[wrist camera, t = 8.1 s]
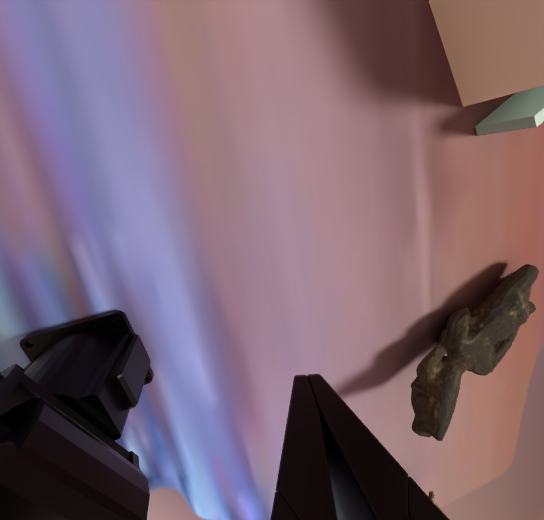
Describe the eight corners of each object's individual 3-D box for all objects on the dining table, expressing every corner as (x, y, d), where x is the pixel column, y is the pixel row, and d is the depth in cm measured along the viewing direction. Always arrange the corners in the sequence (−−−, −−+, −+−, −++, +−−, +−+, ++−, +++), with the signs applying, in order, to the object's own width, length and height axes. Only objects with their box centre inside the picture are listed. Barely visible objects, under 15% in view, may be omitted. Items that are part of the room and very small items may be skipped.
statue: (481, 250, 28) (369, 391, 25) (545, 251, 23) (414, 429, 20) (506, 288, 30) (404, 425, 27) (572, 297, 24) (454, 470, 21)
